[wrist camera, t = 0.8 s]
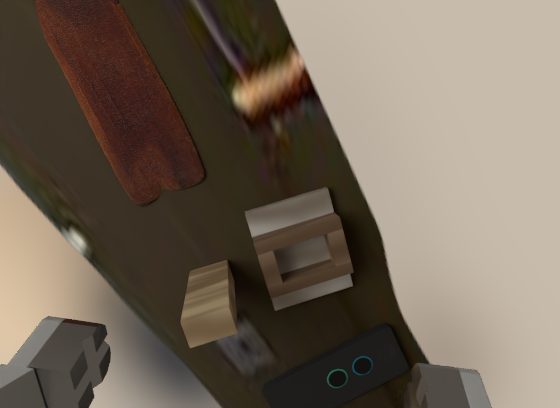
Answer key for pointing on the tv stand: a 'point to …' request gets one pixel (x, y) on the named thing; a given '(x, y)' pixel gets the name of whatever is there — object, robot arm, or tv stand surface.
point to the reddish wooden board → (121, 96)
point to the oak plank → (209, 305)
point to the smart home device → (339, 372)
